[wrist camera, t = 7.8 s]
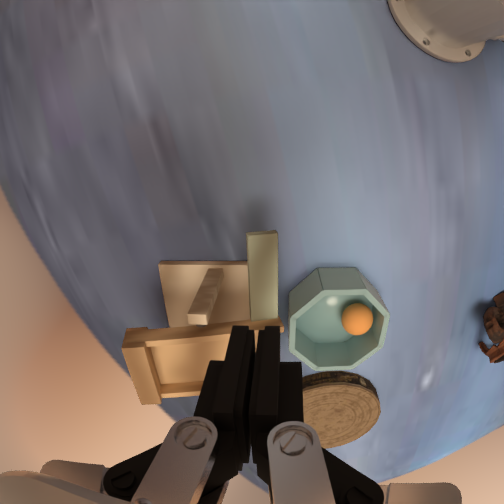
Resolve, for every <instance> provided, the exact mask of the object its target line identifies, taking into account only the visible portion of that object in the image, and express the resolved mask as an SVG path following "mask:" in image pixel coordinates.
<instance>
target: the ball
mask: <svg viewBox="0 0 504 504" xmlns="http://www.w3.org/2000/svg"><path fill="white" fill-rule="evenodd" d="M341 321H342V325H343V328H344V329H345V330H346V331H347V332H348V333H350V334H352V335H362V334H364V333H366V332H367V331H368V330H369V329H370V328H371V326H372V323H373V314H372V312H371V310H370V308H369V307H367V306H366V305H364V304H362V303H354V304H351V305H349V306H348V307H347V308H346V309H345V310H344V312H343V314H342V318H341Z"/></svg>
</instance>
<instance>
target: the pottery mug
mask: <svg viewBox="0 0 504 504" xmlns="http://www.w3.org/2000/svg"><path fill="white" fill-rule="evenodd" d="M493 300H494V301H495V303H496V306H497V307H490V308H488V309H487V310H486V312H485V314H484V316H483V319H484V326H485V329H486V332H487V334H488V336H489V339H490V340H491V341H492V342H493V343H495V344H496V343H499V342H500V343H499V344H498V346H496V345H493V346H492V347H491V348H490V349H489V348H487V347H486V345H485V344H484V342H480V343H479V346H480V348H481V350H482V352H483V353H484V354H485V355H487V356H488V357H489V359H490V363H498V362H501V361H504V292H503V293H501V294H498V295H497V296H495V297H494V298H493Z"/></svg>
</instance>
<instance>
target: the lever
mask: <svg viewBox="0 0 504 504" xmlns="http://www.w3.org/2000/svg"><path fill="white" fill-rule="evenodd" d="M246 239H247V263H248V286H249V309H250V319H249V320H240V321H232V322H223V323H214V324H207V325H200V324H196V325H194V326H184V327H172V328H160V329H148V328H147V327H141V328H127V329H126V333H125V337H124V340H123V344H122V348H121V349H122V352H123V355H124V358H125V361H126V364H127V367H128V369H129V372H130V375H131V378H132V381H133V383H134V386H135V389H136V391H137V394H138V397H139V399H140V402H141V404H142V405H145V404H161V400H162V398H170V397H184V396H196V395H200V392H201V388H202V385H203V381H204V378H205V375H206V371H207V368H208V364H209V362H210V360H221V361H224V359H225V355H226V351H227V347H228V343H229V338H230V334H231V330H232V326H233V325H243V326H249V330H254V331H255V348H257V340H258V332H259V330H264V329H265V326H280V333H281V332H284V326H283V323H282V321H281V319H280V317H279V316H278V233H277V231H276V230H270V231H258V232H247V233H246Z"/></svg>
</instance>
